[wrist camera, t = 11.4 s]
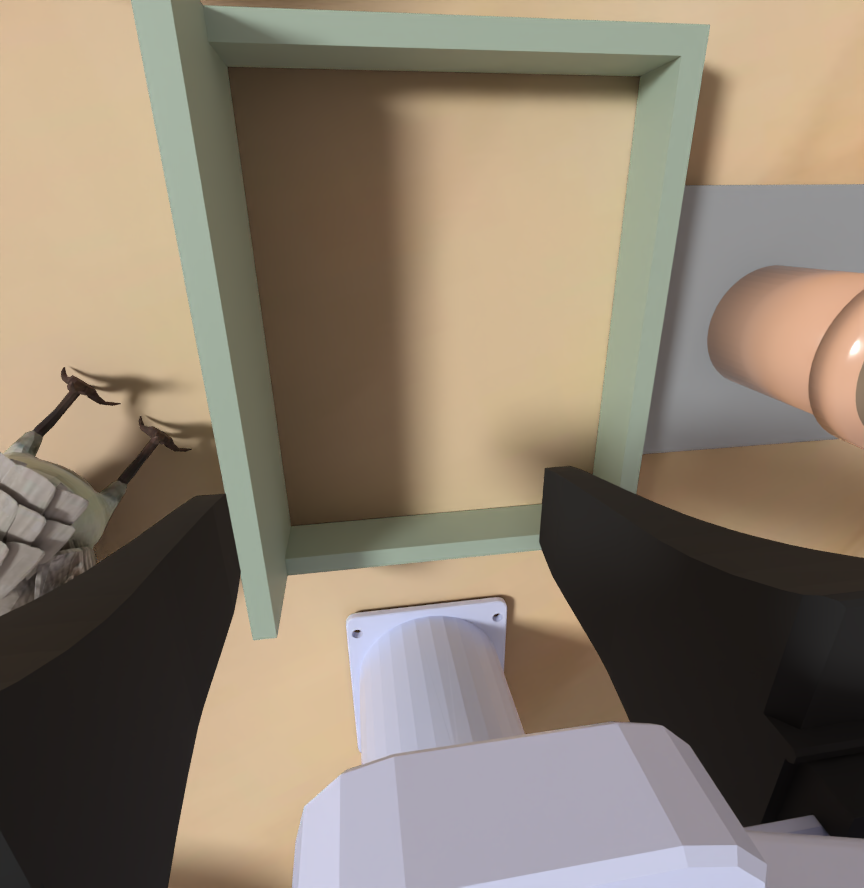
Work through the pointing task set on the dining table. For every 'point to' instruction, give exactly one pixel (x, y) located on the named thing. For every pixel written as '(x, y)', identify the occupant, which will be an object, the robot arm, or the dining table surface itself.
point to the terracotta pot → (797, 342)
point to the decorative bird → (54, 510)
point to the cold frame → (234, 275)
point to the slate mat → (709, 278)
